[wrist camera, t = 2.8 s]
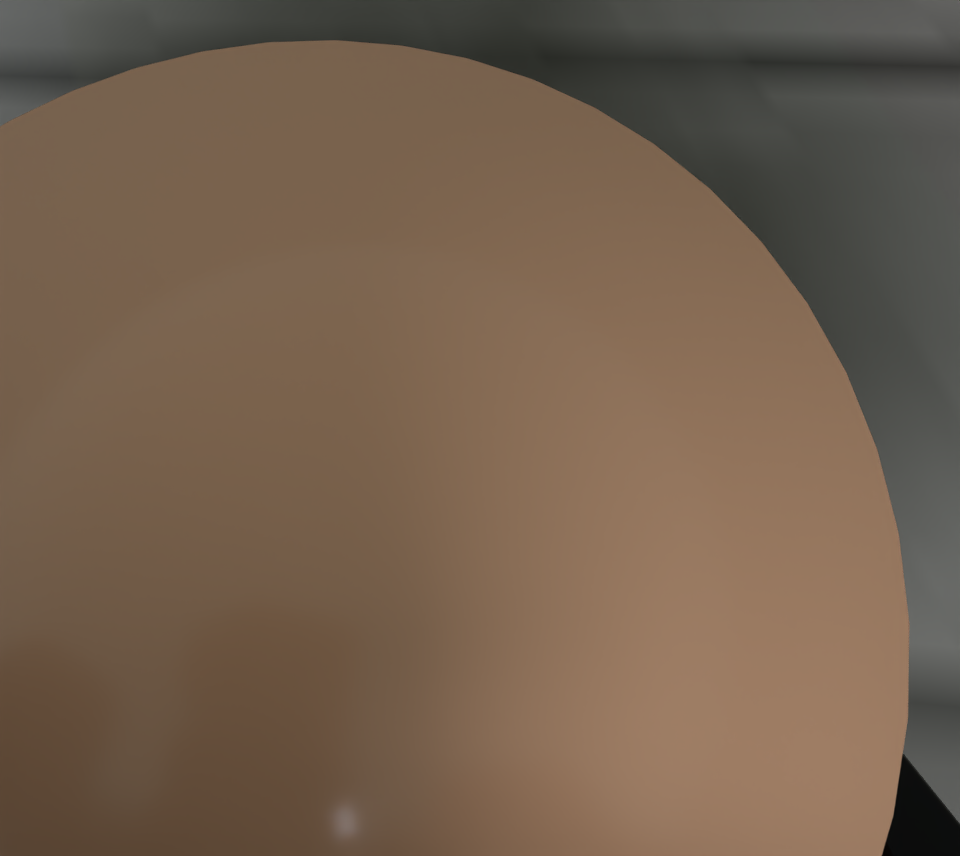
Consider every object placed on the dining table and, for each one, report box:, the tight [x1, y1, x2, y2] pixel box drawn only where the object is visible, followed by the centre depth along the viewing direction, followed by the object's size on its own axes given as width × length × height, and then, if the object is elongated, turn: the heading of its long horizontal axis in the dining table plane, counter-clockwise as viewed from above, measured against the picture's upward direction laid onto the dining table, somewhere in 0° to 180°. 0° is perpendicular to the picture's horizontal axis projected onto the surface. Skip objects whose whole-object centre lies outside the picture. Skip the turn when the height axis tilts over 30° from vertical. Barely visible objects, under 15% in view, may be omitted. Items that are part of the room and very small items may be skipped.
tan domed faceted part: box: [0, 40, 909, 856], centre depth 10 cm, size 7×7×12 cm
